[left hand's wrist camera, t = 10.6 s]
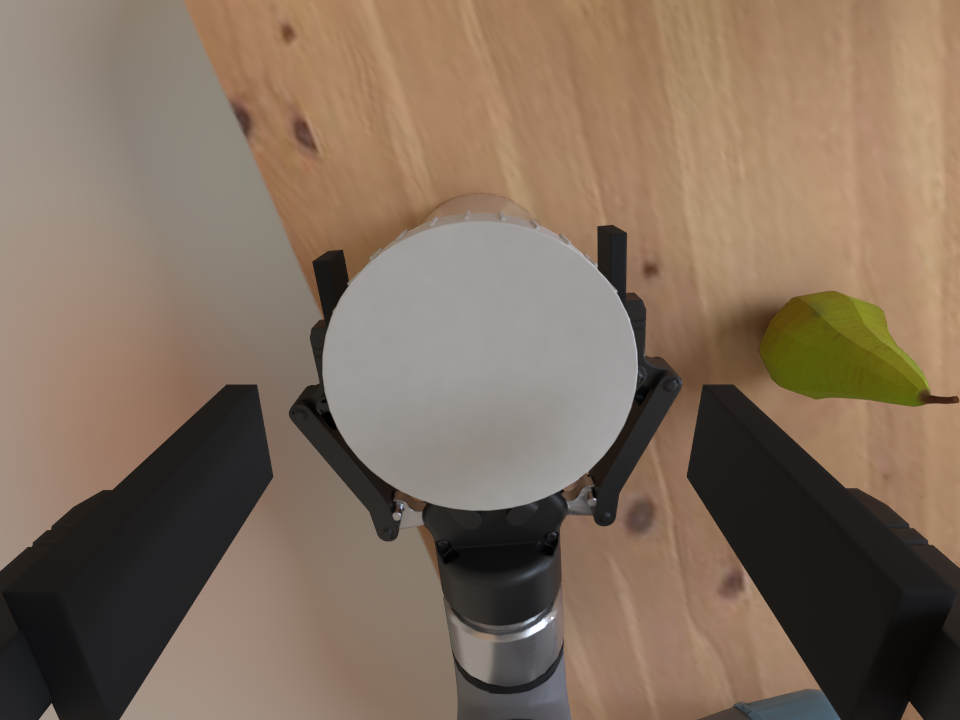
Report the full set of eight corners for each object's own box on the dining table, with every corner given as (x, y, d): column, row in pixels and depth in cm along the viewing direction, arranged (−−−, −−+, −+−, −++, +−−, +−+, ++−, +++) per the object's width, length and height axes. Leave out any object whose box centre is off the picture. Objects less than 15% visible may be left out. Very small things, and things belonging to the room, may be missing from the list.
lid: (626, 197, 16) (647, 204, 14) (618, 468, 20) (634, 503, 18) (312, 222, 16) (289, 232, 14) (362, 484, 20) (349, 521, 18)
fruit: (765, 390, 35) (899, 503, 24) (726, 317, 33) (853, 402, 22) (858, 339, 33) (1048, 434, 22) (824, 260, 31) (1013, 320, 20)
